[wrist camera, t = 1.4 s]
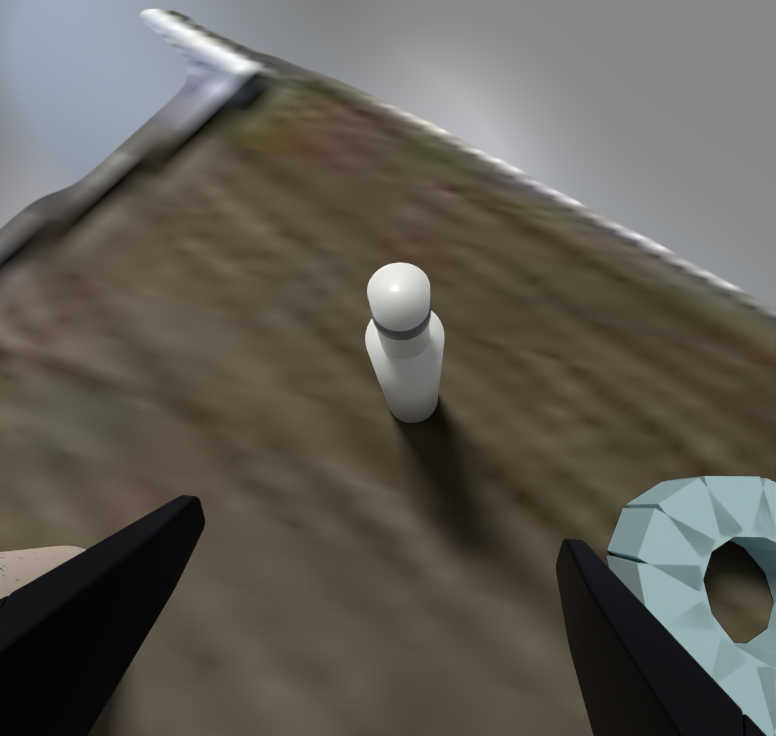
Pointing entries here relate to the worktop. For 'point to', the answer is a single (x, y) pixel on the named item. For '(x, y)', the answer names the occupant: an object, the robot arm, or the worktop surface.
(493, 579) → the worktop surface
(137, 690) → the worktop surface
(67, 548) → the teacup with lid
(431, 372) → the white rounded peg
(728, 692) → the pale blue segmented ring
